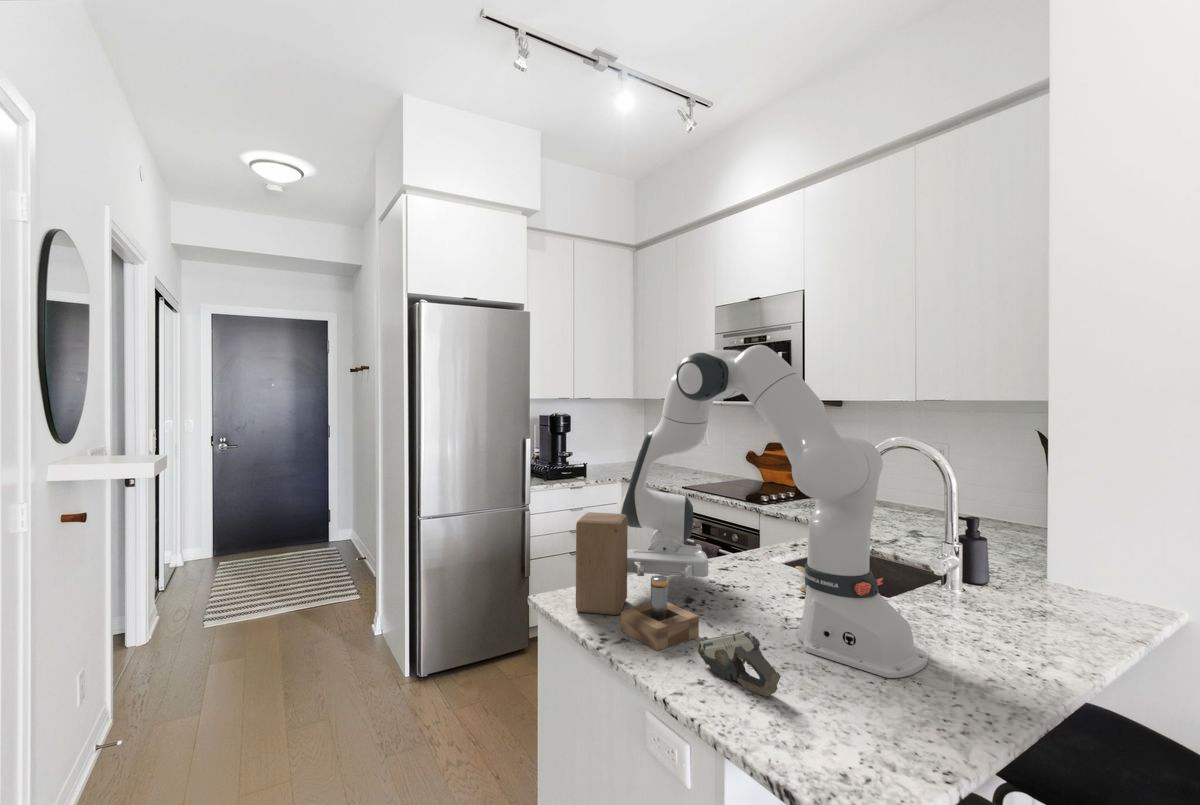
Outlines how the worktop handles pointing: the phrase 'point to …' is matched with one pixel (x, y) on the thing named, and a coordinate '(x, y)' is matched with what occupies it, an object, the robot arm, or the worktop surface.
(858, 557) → the robot arm
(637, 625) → the bore block
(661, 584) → the grey metal cylinder
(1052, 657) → the worktop surface
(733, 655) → the futuristic pistol
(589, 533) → the wooden block
